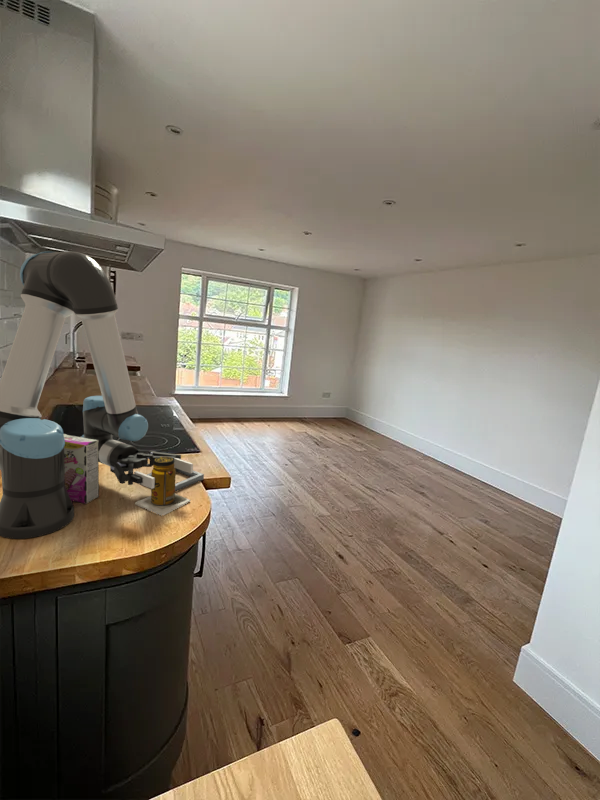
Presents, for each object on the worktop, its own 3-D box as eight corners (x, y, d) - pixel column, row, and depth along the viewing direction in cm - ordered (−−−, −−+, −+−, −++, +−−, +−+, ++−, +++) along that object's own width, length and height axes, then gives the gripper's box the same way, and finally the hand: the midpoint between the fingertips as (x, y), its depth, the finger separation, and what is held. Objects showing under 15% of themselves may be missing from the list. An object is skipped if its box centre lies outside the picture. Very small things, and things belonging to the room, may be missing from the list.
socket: (171, 493, 107) (171, 487, 107) (141, 481, 112) (141, 476, 112) (203, 479, 119) (203, 474, 118) (175, 469, 124) (175, 464, 124)
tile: (161, 516, 94) (161, 514, 94) (135, 504, 99) (135, 502, 99) (190, 502, 103) (190, 500, 103) (164, 491, 108) (164, 489, 108)
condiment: (143, 501, 100) (144, 459, 97) (169, 491, 107) (170, 451, 105) (162, 510, 96) (163, 466, 94) (187, 499, 103) (189, 458, 101)
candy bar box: (48, 497, 98) (47, 438, 95) (64, 490, 103) (62, 433, 100) (86, 505, 96) (85, 444, 93) (99, 497, 101) (99, 439, 98)
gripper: (154, 457, 119) (205, 475, 109) (77, 481, 97) (133, 505, 88) (154, 434, 117) (206, 450, 108) (77, 454, 96) (133, 476, 86)
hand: (173, 475), depth 98 cm, fingers open, 12 cm apart
